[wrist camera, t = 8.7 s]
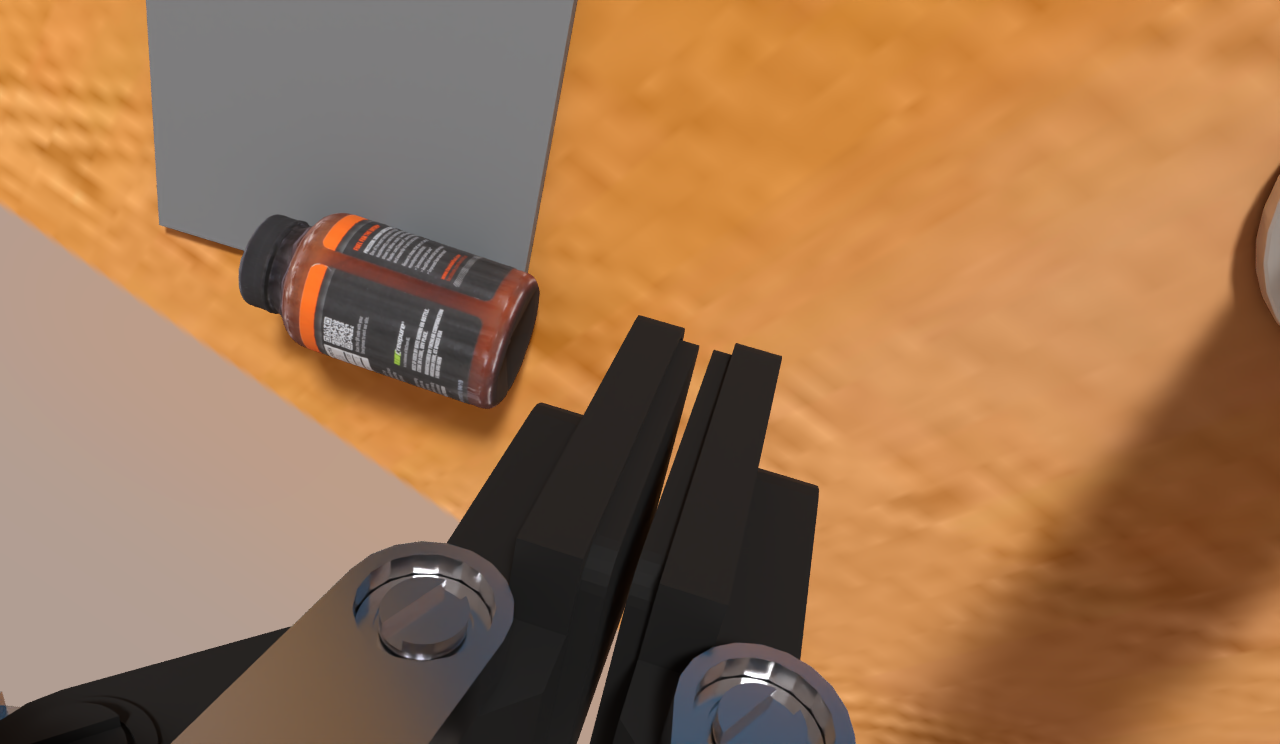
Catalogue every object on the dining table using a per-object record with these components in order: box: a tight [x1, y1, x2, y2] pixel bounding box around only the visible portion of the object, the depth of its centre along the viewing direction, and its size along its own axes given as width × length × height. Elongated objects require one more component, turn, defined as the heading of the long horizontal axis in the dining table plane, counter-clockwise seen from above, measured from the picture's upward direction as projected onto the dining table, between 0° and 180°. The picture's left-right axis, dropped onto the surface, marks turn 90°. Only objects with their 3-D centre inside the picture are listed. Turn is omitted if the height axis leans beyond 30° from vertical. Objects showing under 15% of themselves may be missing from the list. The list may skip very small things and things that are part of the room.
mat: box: [146, 0, 577, 273], centre depth 38 cm, size 17×15×1 cm
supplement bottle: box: [239, 213, 540, 409], centre depth 38 cm, size 6×6×11 cm
